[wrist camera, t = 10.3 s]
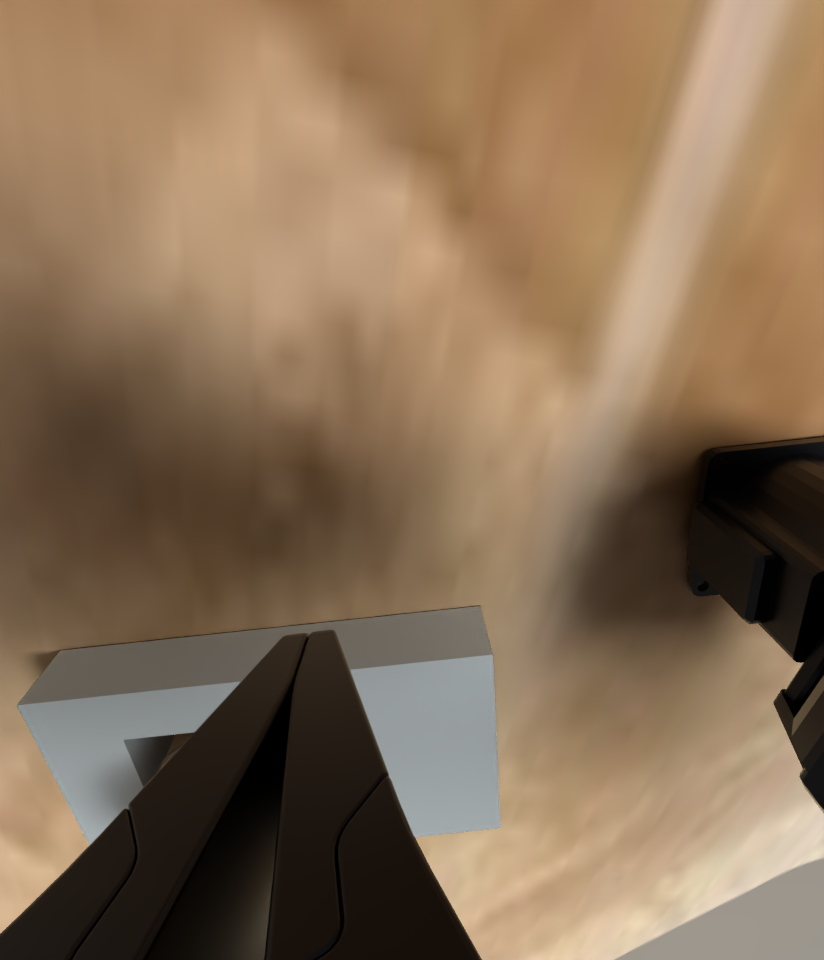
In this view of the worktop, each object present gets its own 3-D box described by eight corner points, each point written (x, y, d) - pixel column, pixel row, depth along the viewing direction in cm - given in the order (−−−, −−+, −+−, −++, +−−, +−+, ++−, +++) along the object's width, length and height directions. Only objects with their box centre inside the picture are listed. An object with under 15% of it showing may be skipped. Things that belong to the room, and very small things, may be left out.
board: (480, 605, 23) (492, 654, 21) (488, 769, 27) (500, 827, 25) (60, 650, 23) (16, 705, 20) (131, 807, 27) (102, 870, 24)
